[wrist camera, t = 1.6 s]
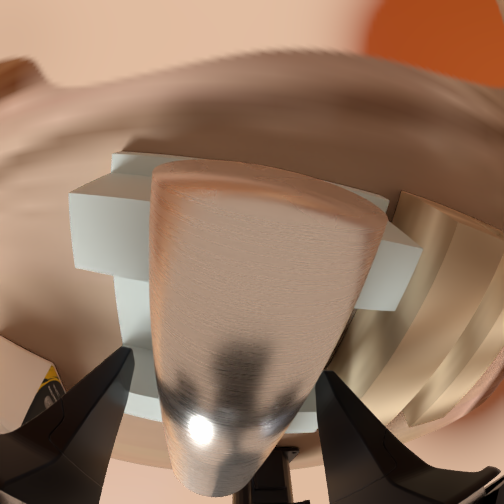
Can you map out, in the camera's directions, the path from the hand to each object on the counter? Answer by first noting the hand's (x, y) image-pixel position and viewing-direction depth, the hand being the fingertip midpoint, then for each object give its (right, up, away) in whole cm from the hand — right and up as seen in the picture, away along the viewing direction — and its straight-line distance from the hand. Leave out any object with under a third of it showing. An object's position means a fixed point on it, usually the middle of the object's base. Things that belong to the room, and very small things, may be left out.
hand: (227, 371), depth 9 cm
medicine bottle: (-19, -6, +7) cm, 21 cm away
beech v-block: (+12, 0, +5) cm, 13 cm away
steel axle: (0, -1, -1) cm, 1 cm away
